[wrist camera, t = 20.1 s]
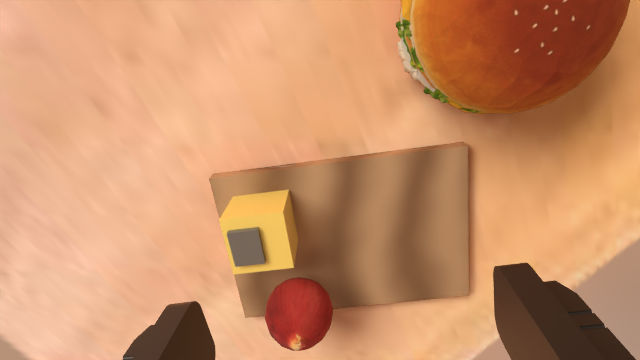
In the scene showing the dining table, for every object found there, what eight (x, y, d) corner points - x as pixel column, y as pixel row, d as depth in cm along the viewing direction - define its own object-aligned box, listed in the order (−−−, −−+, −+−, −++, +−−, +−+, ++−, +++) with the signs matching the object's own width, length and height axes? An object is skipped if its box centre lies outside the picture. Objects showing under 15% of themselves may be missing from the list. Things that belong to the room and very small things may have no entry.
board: (463, 141, 32) (468, 145, 31) (464, 311, 38) (468, 320, 37) (213, 174, 34) (209, 178, 33) (253, 332, 40) (251, 340, 39)
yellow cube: (288, 189, 33) (282, 214, 28) (298, 239, 34) (293, 271, 30) (232, 196, 33) (217, 222, 28) (244, 245, 35) (231, 278, 30)
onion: (313, 318, 38) (310, 388, 30) (261, 295, 37) (245, 361, 29) (342, 275, 36) (346, 339, 28) (288, 250, 35) (277, 308, 27)
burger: (440, 134, 32) (486, 174, 23) (352, -11, 28) (363, -34, 19) (594, 36, 29) (720, 36, 20) (519, -140, 25) (630, -243, 16)
